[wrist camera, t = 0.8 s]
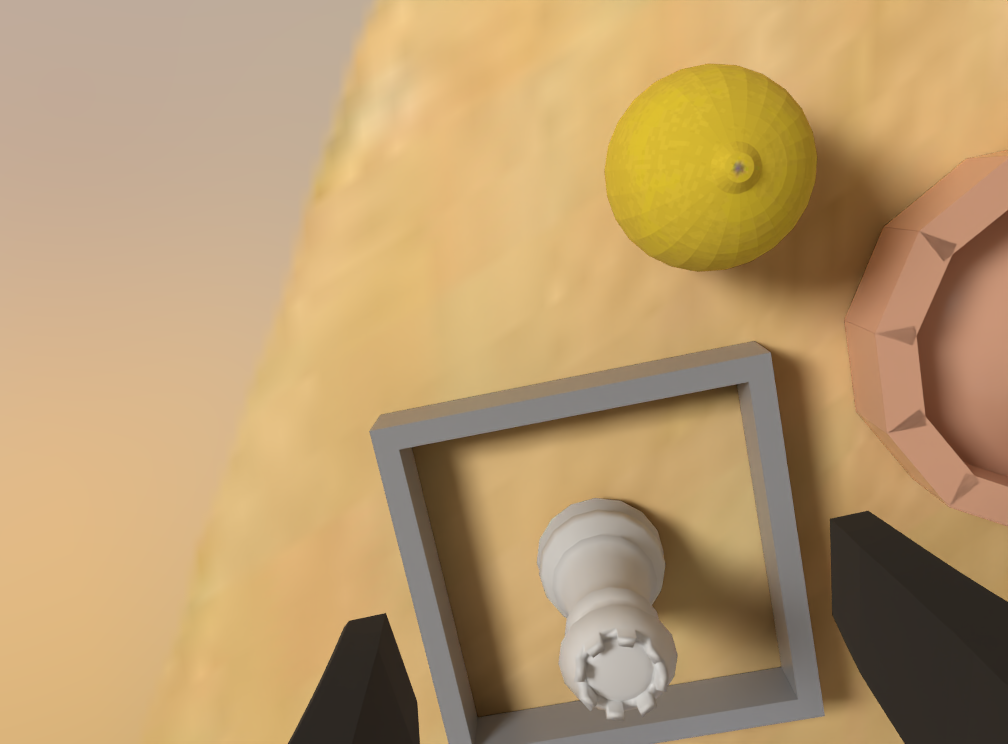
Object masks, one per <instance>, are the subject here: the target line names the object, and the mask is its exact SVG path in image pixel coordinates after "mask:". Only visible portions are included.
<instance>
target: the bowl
mask: <svg viewBox="0 0 1008 744" xmlns="http://www.w3.org/2000/svg"><path fill="white" fill-rule="evenodd" d="M844 322H845V329H846V337H847V345H848V353H849V360H850V368H851V376H852V384H853V391H854V399H855V407H856V412H857V413H858V414H859V416H860V417H861V418H862V419H863V420H864V422H865V423H866V424H867V425H868V426H869V428H870V429H871V430H872V431H873V432H874V433H875V435H876V436H877V437H878V438H879V439H880V441H881V442H882V443H883V444H884V445H885V447H886V448H887V449H888V450H889V451H890V452H891V454H892V455H893V456H894V457H895V458H896V460H897V461H898V462H899V463H900V464H901V465H902V467H903V468H904V469H905V470H906V471H907V473H908V474H909V475H910V476H911V477H912V479H914V480H915V481H916V482H917V483H919V484H920V485H921V486H923V487H924V488H925V489H926V490H928V491H929V492H930V493H932V494H933V495H934V496H935V497H937V498H938V499H939V500H941V501H942V502H943V503H945V504H946V505H947V506H948V507H950V508H954V509H957V510H960V511H963V512H966V513H969V514H972V515H975V516H978V517H981V518H984V519H987V520H990V521H993V522H996V523H999V524H1003V525H1006V526H1008V150H1005V151H1000V152H995V153H991V154H986V155H981V156H976V157H972V158H967V159H965V160H964V161H963V162H962V163H960V164H959V165H958V166H957V167H956V168H954V169H953V170H952V171H951V172H950V173H948V174H947V175H946V176H945V177H944V178H942V179H941V180H940V181H939V182H937V183H936V184H935V185H934V186H933V187H931V188H930V189H929V190H928V191H927V192H925V193H924V194H923V195H922V196H920V197H919V198H918V199H917V200H916V201H914V202H913V203H912V204H911V205H910V206H908V207H907V208H906V209H905V210H904V211H902V212H901V213H900V214H899V215H897V216H896V217H895V218H894V219H893V220H891V221H890V222H889V223H888V224H887V225H885V226H884V227H883V229H882V232H881V234H880V237H879V239H878V241H877V244H876V246H875V248H874V251H873V253H872V256H871V258H870V260H869V263H868V265H867V267H866V270H865V272H864V275H863V277H862V279H861V282H860V284H859V286H858V289H857V291H856V293H855V296H854V298H853V301H852V303H851V305H850V308H849V310H848V312H847V315H846V317H845V320H844Z"/></svg>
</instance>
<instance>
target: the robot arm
mask: <svg viewBox="0 0 1008 744" xmlns="http://www.w3.org/2000/svg"><path fill="white" fill-rule="evenodd" d="M830 539H831V581H832V615H833V617H834V619H835V622H836V624H837V626H838V628H839V630H840V632H841V634H842V637H843V639H844V641H845V643H846V645H847V647H848V649H849V651H850V653H851V655H852V657H853V659H854V661H855V663H856V665H857V668H858V670H859V672H860V673H861V675H862V677H863V678H864V680H865V682H866V683H867V685H868V686H869V688H870V690H871V691H872V693H873V694H874V696H875V698H876V699H877V701H878V702H879V704H880V705H881V707H882V709H883V710H884V712H885V713H886V715H887V717H888V718H889V720H890V721H891V723H892V724H893V726H894V727H895V729H896V731H897V732H898V734H899V735H900V737H901V738H902V740H903V742H904V743H905V744H1008V602H1007V601H1005V600H1004V599H1002V598H1000V597H999V596H997V595H995V594H994V593H992V592H991V591H989V590H987V589H986V588H984V587H983V586H981V585H979V584H978V583H976V582H975V581H973V580H971V579H970V578H968V577H967V576H965V575H963V574H962V573H960V572H959V571H957V570H956V569H954V568H953V567H951V566H950V565H948V564H947V563H945V562H943V561H942V560H940V559H939V558H937V557H936V556H934V555H933V554H931V553H930V552H929V551H927V550H926V549H924V548H923V547H921V546H920V545H918V544H917V543H915V542H914V541H912V540H911V539H909V538H908V537H906V536H905V535H903V534H902V533H900V532H899V531H897V530H896V529H894V528H893V527H892V526H890V525H889V524H887V523H886V522H884V521H883V520H881V519H880V518H878V517H877V516H875V515H874V514H872V513H871V512H869V511H865V512H860V513H855V514H851V515H846V516H841V517H837V518H832V519H830ZM288 744H420V738H419V722H418V707H417V700H416V697H415V694H414V692H413V689H412V686H411V683H410V680H409V677H408V675H407V672H406V669H405V666H404V663H403V660H402V658H401V655H400V652H399V649H398V646H397V643H396V641H395V638H394V635H393V632H392V629H391V626H390V624H389V621H388V618H387V615H386V613H384V614H380V615H375V616H370V617H366V618H361V619H356V620H351V621H349V622H348V623H347V624H346V626H345V627H344V629H343V631H342V633H341V636H340V638H339V640H338V643H337V645H336V647H335V649H334V652H333V654H332V656H331V658H330V660H329V663H328V665H327V667H326V669H325V671H324V673H323V676H322V678H321V680H320V682H319V684H318V686H317V688H316V690H315V692H314V694H313V696H312V698H311V700H310V702H309V704H308V706H307V708H306V710H305V712H304V714H303V716H302V718H301V720H300V722H299V724H298V726H297V728H296V730H295V731H294V733H293V735H292V737H291V739H290V741H289V743H288Z"/></svg>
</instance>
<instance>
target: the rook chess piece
mask: <svg viewBox="0 0 1008 744" xmlns="http://www.w3.org/2000/svg"><path fill="white" fill-rule="evenodd" d="M663 555H664V552H663V548H662V545H661V541H660V537H659V534H658V530H657V529H656V528H655V527H654V526H653V524H652V523H651V522H650V521H649V520H648V518H647V517H646V516H645V515H644V514H643V512H641V511H639V510H637V509H635V508H633V507H631V506H630V505H628V504H626V503H624V502H622V501H619V500H609V499H599V498H594V499H590V500H586V501H583V502H579V503H575V504H572V505H570V506H569V507H567V508H566V509H565V510H563V511H562V512H561V513H559V514H558V515H557V516H555V517H554V518H553V519H551V521H550V523H549V524H548V526H547V528H546V529H545V531H544V533H543V535H542V536H541V538H540V540H539V548H538V557H537V565H538V568H539V575H540V578H541V582H542V585H543V588H544V591H545V594H546V596H547V598H548V599H549V600H550V601H551V602H552V604H553V605H554V606H555V607H556V608H557V609H558V610H559V612H560V613H561V614H562V615H563V616H564V617H566V618H567V622H566V630H565V637H564V639H563V641H562V642H561V648H560V656H559V666H560V669H561V672H562V676H563V679H564V682H565V684H566V685H567V686H568V687H569V689H570V690H571V691H572V692H573V693H574V694H575V695H576V696H577V698H578V699H579V700H581V701H582V703H583V704H584V705H585V706H586V707H587V708H588V709H589V710H590V711H591V710H592V709H593V708H594V707H595V708H597V709H599V710H605V713H606V719H607V720H616V721H625V719H624V711H628V710H632V709H636V708H638V710H639V712H640V713H641V715H642V717H643V716H645V715H646V714H648V713H649V712H651V711H652V710H654V709H655V708H656V707H657V704H656V700H655V699H656V698H657V697H659V696H660V695H662V694H663V693H664V692H666V693H667V687H668V685H669V683H670V682H671V680H672V679H673V677H674V675H675V669H676V662H677V656H678V655H677V651H676V648H675V644H674V641H673V637H672V634H671V633H670V632H669V631H668V630H667V629H666V627H665V626H664V625H663V624H662V623H661V622H660V620H659V618H658V614H657V611H656V610H655V609H654V608H653V606H652V604H653V603H654V601H655V600H656V598H657V596H658V595H659V593H660V592H661V589H662V585H663V578H664V571H665V565H666V563H665V560H664V556H663Z"/></svg>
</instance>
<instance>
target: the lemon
mask: <svg viewBox="0 0 1008 744" xmlns="http://www.w3.org/2000/svg"><path fill="white" fill-rule="evenodd" d="M816 166H817V153H816V147H815V142H814V136H813V132H812V129H811V127H810V125H809V123H808V121H807V119H806V116H805V114H804V112H803V110H802V108H801V107H800V106H799V105H798V103H797V102H796V101H795V100H794V99H793V98H792V96H791V95H790V94H789V93H788V92H787V91H786V89H784V88H783V87H781V86H780V85H778V84H777V83H775V82H774V81H772V80H771V79H769V78H768V77H766V76H765V75H763V74H761V73H758V72H755V71H752V70H749V69H746V68H743V67H740V66H737V65H723V64H705V65H700V66H695V67H690V68H686V69H681V70H679V71H677V72H675V73H673V74H671V75H669V76H667V77H665V78H662V79H660V80H658V81H656V82H655V83H653V84H652V85H651V86H650V87H649V88H647V89H646V90H645V91H644V92H643V93H642V94H640V95H639V96H638V97H637V98H636V99H634V101H633V102H632V103H631V105H630V106H629V108H628V109H627V110H626V112H625V113H624V115H623V116H622V117H621V119H620V120H619V122H618V123H617V126H616V128H615V131H614V133H613V136H612V138H611V141H610V143H609V146H608V151H607V158H606V165H605V180H606V190H607V197H608V200H609V203H610V205H611V208H612V211H613V213H614V216H615V219H616V221H617V222H618V223H619V225H620V226H621V228H622V229H623V231H624V232H625V234H626V235H627V236H628V238H629V239H630V240H631V241H632V242H633V243H635V244H636V245H637V246H638V247H639V248H640V249H642V250H643V251H644V252H645V253H646V254H648V255H649V256H651V257H653V258H655V259H657V260H659V261H661V262H663V263H665V264H667V265H669V266H672V267H676V268H682V269H687V270H692V271H697V272H700V271H715V270H726V269H729V268H732V267H735V266H738V265H742V264H745V263H748V262H751V261H753V260H754V259H756V258H758V257H759V256H761V255H763V254H764V253H766V252H768V251H769V250H771V249H772V248H774V247H775V246H776V245H777V244H778V243H779V242H780V241H781V240H782V239H783V238H784V237H785V236H786V235H787V234H788V233H789V232H790V231H791V230H792V229H793V228H794V227H795V225H796V223H797V222H798V220H799V219H800V217H801V215H802V214H803V212H804V210H805V209H806V207H807V205H808V202H809V199H810V196H811V193H812V190H813V187H814V184H815V180H816Z"/></svg>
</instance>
